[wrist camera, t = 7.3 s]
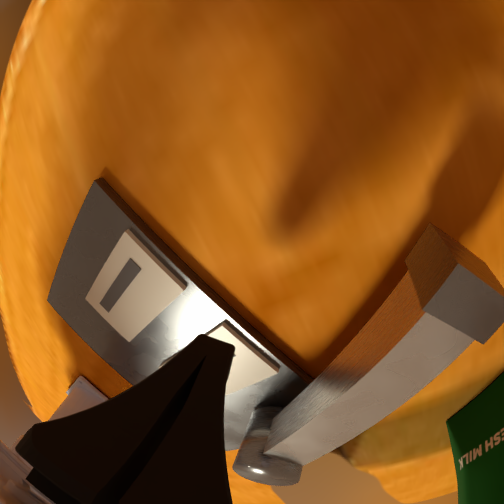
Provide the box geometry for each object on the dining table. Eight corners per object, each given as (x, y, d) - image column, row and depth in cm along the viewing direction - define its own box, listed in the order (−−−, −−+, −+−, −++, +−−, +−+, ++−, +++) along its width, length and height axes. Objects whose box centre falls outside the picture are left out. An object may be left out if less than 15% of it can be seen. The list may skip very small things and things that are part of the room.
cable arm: (292, 441, 18) (280, 489, 14) (242, 422, 18) (224, 470, 14) (482, 255, 9) (526, 318, 5) (411, 205, 9) (448, 259, 6)
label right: (205, 400, 18) (203, 404, 18) (160, 364, 18) (157, 368, 17) (279, 369, 15) (277, 374, 14) (224, 322, 14) (221, 326, 14)
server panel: (228, 445, 22) (226, 450, 22) (51, 296, 20) (47, 300, 19) (353, 411, 16) (353, 418, 16) (101, 177, 13) (94, 180, 13)
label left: (131, 339, 17) (128, 343, 17) (87, 296, 17) (84, 299, 16) (186, 287, 14) (183, 291, 14) (128, 228, 13) (123, 231, 13)
